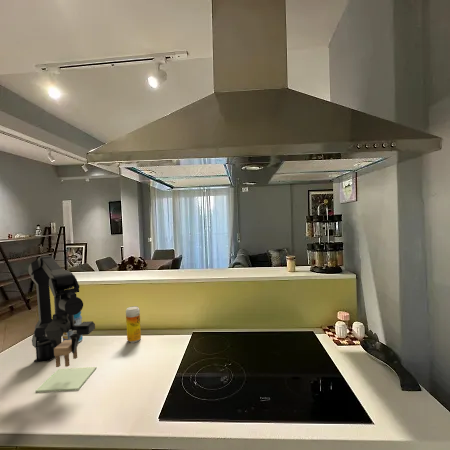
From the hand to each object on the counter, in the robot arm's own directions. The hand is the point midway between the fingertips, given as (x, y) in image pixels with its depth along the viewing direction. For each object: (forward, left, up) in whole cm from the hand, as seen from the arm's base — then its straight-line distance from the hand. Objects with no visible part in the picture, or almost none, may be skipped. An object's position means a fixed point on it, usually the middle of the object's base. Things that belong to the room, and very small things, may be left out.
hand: (66, 353), depth 104 cm
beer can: (+14, +32, -10) cm, 36 cm away
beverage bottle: (-15, +34, -10) cm, 38 cm away
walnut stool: (0, 0, -3) cm, 3 cm away
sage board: (0, 0, -10) cm, 10 cm away
